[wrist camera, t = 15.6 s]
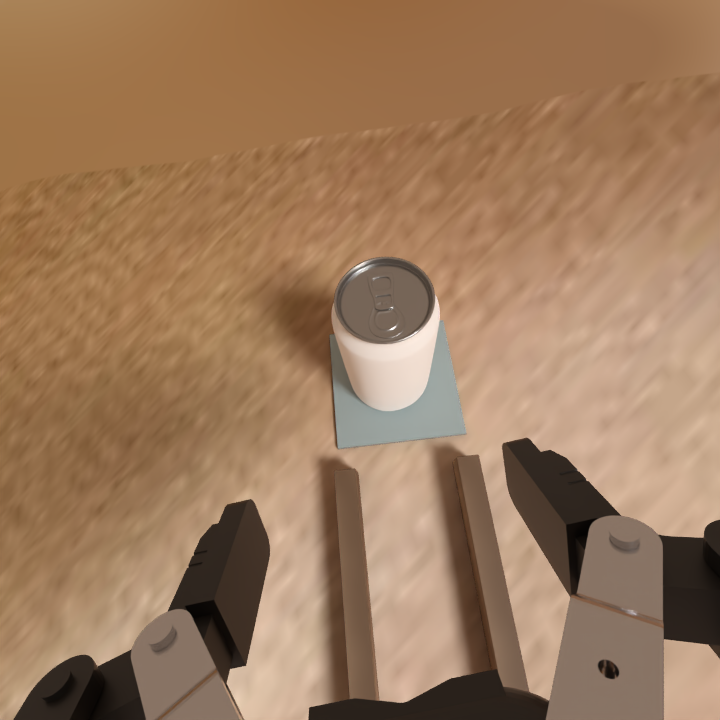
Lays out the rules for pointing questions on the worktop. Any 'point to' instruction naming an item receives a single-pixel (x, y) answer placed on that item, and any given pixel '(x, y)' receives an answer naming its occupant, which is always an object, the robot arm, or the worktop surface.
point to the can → (386, 330)
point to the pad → (416, 422)
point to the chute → (485, 573)
